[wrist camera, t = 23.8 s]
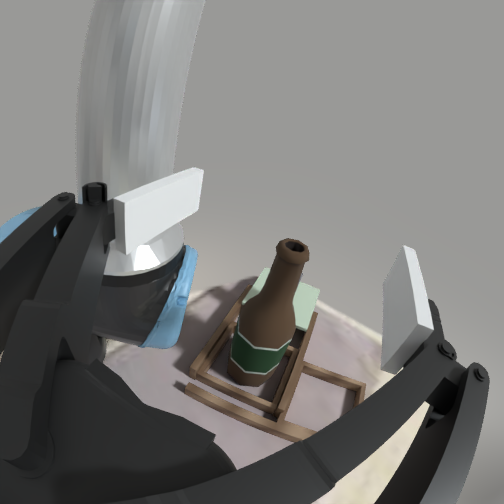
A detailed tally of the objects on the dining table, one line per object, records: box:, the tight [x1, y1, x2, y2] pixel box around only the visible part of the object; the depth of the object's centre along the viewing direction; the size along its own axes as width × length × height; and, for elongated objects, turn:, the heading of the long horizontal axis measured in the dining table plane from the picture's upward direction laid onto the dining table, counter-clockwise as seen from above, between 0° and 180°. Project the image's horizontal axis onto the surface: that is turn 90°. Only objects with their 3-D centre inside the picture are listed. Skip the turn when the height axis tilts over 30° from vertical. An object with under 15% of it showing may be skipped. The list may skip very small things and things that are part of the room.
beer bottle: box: [227, 238, 309, 387], centre depth 35 cm, size 8×8×24 cm
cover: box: [242, 268, 320, 332], centre depth 51 cm, size 13×13×9 cm
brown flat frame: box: [185, 285, 366, 443], centre depth 43 cm, size 27×26×3 cm
